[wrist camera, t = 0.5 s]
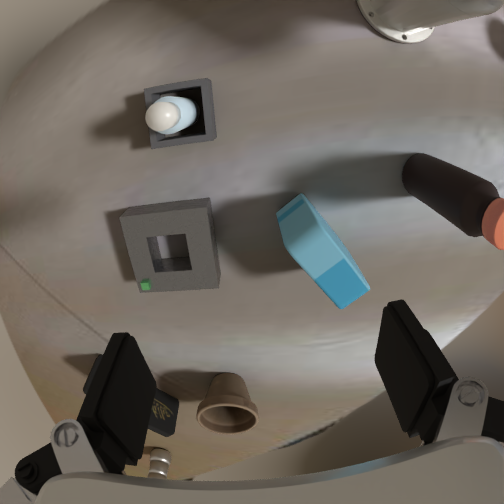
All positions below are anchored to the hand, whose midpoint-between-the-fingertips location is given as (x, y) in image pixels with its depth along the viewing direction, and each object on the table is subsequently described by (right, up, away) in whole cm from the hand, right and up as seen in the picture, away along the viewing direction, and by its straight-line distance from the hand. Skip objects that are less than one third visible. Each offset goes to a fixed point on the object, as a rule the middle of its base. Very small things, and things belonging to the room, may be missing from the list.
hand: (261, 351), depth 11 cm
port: (-12, +5, +33) cm, 36 cm away
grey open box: (-9, +21, +25) cm, 34 cm away
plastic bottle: (-28, -57, +66) cm, 92 cm away
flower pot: (-5, -23, +48) cm, 53 cm away
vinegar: (+25, +15, +29) cm, 41 cm away
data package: (+8, +7, +33) cm, 35 cm away
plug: (-9, +21, +25) cm, 34 cm away
